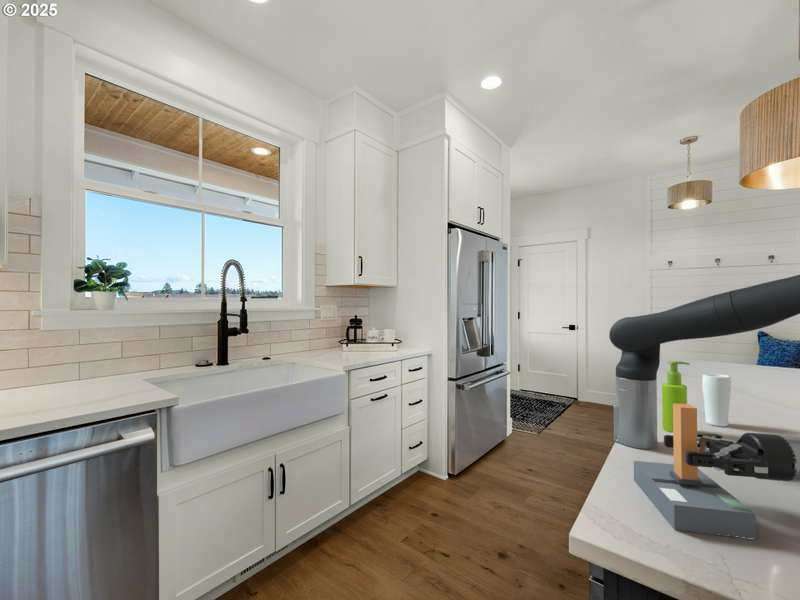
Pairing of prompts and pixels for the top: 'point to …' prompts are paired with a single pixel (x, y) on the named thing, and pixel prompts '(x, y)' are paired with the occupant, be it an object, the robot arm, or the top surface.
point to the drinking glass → (716, 398)
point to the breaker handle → (684, 444)
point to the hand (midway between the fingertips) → (674, 449)
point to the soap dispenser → (672, 394)
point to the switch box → (694, 502)
